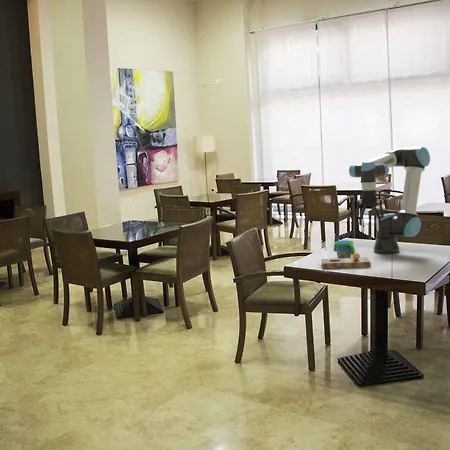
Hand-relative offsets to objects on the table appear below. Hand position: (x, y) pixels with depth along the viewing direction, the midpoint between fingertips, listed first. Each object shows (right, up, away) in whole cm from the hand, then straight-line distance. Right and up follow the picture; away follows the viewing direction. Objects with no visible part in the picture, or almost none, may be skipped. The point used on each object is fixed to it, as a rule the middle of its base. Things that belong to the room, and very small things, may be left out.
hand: (370, 230), depth 322 cm
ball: (-7, -14, +3) cm, 16 cm away
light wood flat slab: (-13, -20, +4) cm, 24 cm away
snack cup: (-10, -17, +23) cm, 30 cm away
